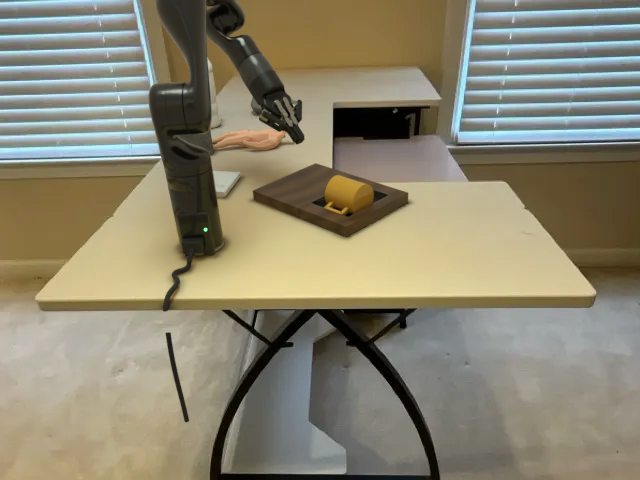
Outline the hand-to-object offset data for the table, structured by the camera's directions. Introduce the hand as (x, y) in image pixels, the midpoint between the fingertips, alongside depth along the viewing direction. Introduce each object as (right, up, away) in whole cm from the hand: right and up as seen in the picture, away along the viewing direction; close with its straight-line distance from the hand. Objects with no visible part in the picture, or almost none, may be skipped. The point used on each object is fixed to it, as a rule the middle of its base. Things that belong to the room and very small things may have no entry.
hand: (301, 141), depth 140 cm
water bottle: (-31, +21, +52) cm, 64 cm away
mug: (+7, -13, -3) cm, 15 cm away
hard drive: (-22, -8, +12) cm, 26 cm away
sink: (+11, -16, -1) cm, 20 cm away
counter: (+7, -13, +3) cm, 15 cm away
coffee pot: (-14, +31, +65) cm, 73 cm away
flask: (-33, +6, +32) cm, 46 cm away
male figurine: (-16, +10, +36) cm, 40 cm away
